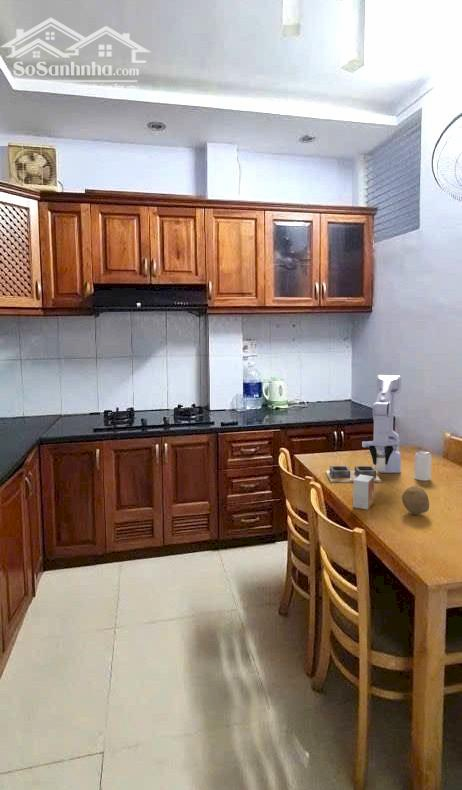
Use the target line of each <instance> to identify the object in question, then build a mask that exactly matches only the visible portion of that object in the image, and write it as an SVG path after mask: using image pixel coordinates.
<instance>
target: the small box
mask: <svg viewBox="0 0 462 790" xmlns="http://www.w3.org/2000/svg"><path fill="white" fill-rule="evenodd" d="M352 493H353V496H352V498H353V499H352V503H353V504H352V507H353V508H356V509H362V510H369V509H370V508H371V506H372V505H374V504H375V503H374V497H375V496H374V495H375V482H374V476H368V475H361V474H360V475H359V476H358V477H357V478H356V479H354V482H353V491H352Z"/></svg>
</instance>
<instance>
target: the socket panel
mask: <svg viewBox="0 0 462 790" xmlns="http://www.w3.org/2000/svg"><path fill="white" fill-rule="evenodd" d="M325 473H326V475H327V477H328V479H329V482H330V483H354V479H356V478H357V477H358V476H359V475H360V474H361V475H368V476H374V483H381V482H382V479H380V477H379V476H378V475H377V471H376V470H375V467H374V466H372V465H354V470H351V469H350V468H349V467H348V465H329V469H328V470H326V469H325Z"/></svg>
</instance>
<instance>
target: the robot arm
mask: <svg viewBox="0 0 462 790" xmlns="http://www.w3.org/2000/svg"><path fill="white" fill-rule="evenodd" d="M401 384H402V377H401V375H399V374H397V375H393V374H391V375H389V374H387V375H386V374H378V375H377V378H376V387H377V390H378V394H377V395H376V399H375V403H373V405H372V417H373V418H372V419H373V440H369V441H368V440H367V441H361V447H362V448H368V451H369V452H370V455H371V458H372V459H371V460H372V464H373V465H374V466H375V465H376V453H377V452H384V453H386V459H385V471H378V472H379V473H382V474H383V473H386V474H387V473H388V474H389V473H390V474H391V473H396V474H399V473H400V474H401V473H402V469H401V468H402V455H401V452H400V451H399V450H400V449H399V448H400V436H399V433H397V432H396V431H394V415H395V414H394V413H395V411H394V410H395V398H396V396H397V395H398V394H400V392H401Z"/></svg>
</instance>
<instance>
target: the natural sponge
mask: <svg viewBox="0 0 462 790" xmlns="http://www.w3.org/2000/svg"><path fill="white" fill-rule="evenodd" d="M401 501H402V502H401V503H402V504H403V506H404V507H405V509H406V510H407V511H408V513H410V514H411V515H414V516H418V515H421V514H423V513H427V512H428V511H429V509H430V500H429V496H428V494H427V491H425V490H424V489H423V488H421V487H419V486H417V485H415V486H410V487H408V488H407V489H405V490H404V492H403V493H402V495H401Z"/></svg>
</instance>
